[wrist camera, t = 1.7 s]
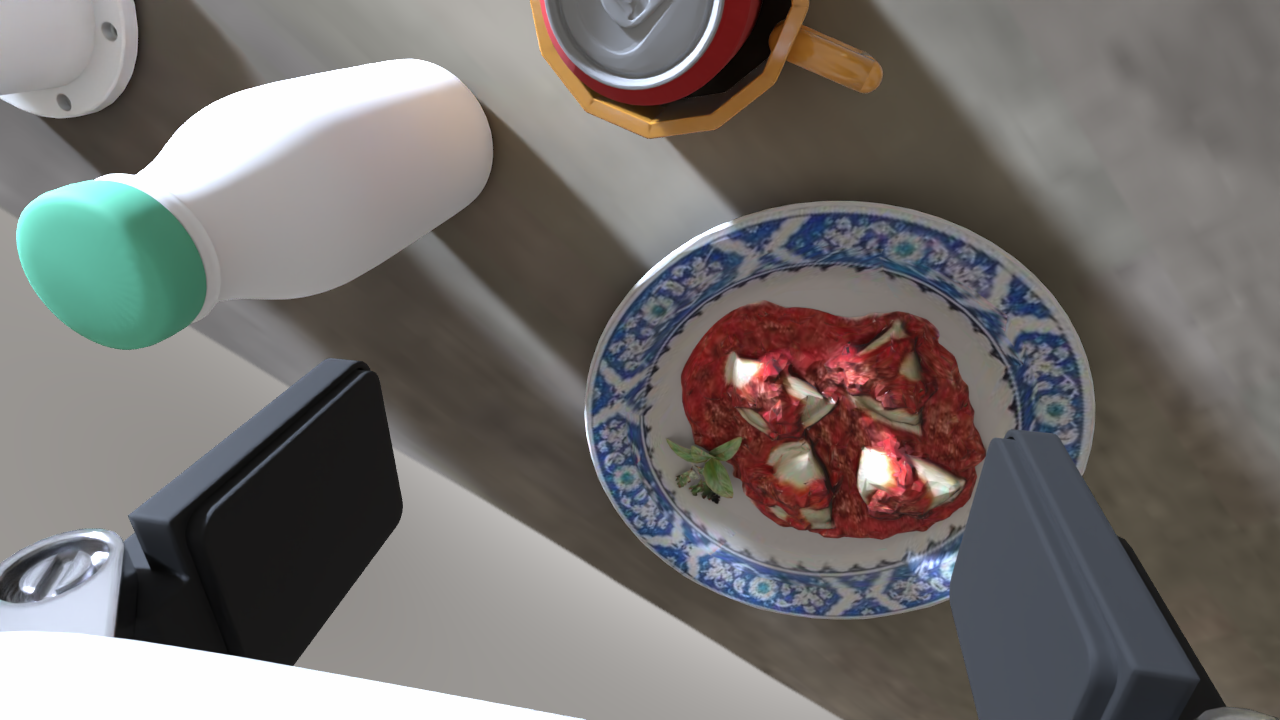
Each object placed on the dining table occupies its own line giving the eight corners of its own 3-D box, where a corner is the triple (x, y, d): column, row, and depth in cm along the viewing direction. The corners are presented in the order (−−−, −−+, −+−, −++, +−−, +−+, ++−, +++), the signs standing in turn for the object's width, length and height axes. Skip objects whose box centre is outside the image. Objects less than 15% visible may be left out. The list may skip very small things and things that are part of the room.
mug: (549, 59, 33) (499, 74, 28) (620, -192, 28) (576, -236, 23) (814, 174, 33) (818, 213, 28) (931, -57, 28) (965, -67, 23)
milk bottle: (437, 24, 34) (53, 65, 16) (526, 170, 36) (276, 340, 19) (327, 107, 37) (-98, 217, 19) (416, 237, 39) (111, 438, 22)
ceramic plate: (1099, 147, 31) (1128, 162, 28) (1064, 592, 42) (1082, 633, 39) (545, 228, 37) (526, 246, 35) (640, 594, 48) (631, 628, 46)
